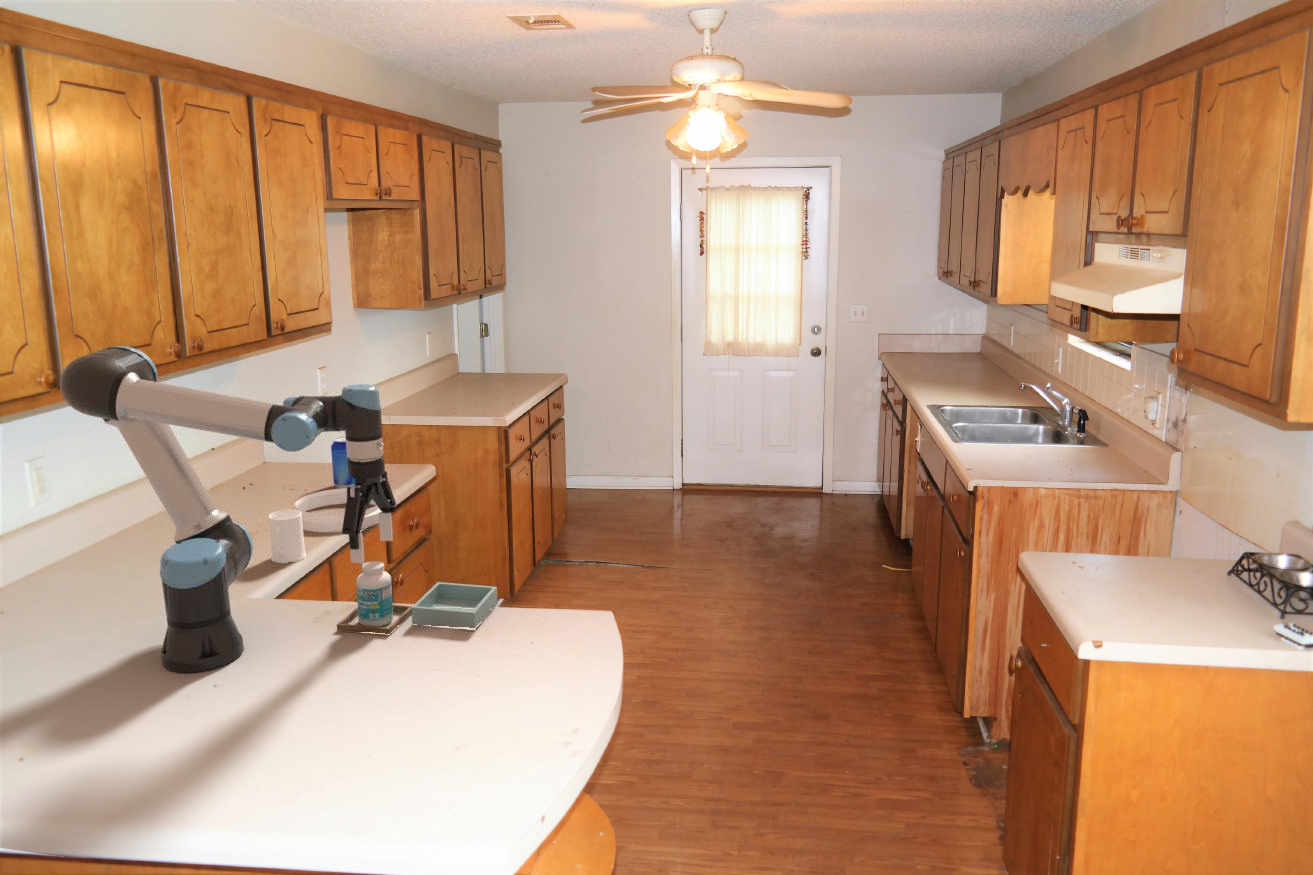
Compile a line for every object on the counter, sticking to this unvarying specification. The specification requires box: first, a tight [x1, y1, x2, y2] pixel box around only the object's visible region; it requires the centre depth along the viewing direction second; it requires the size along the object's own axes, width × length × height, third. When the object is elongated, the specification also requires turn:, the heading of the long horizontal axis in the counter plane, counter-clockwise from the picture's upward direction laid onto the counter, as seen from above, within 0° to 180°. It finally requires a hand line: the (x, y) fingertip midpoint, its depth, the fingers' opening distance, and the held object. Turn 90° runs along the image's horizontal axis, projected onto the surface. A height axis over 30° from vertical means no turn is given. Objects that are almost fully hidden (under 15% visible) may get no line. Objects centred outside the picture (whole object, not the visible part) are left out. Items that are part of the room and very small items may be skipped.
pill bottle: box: [355, 560, 394, 627], centre depth 205 cm, size 8×7×14 cm
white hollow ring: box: [292, 488, 382, 533], centre depth 275 cm, size 27×27×5 cm
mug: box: [268, 509, 307, 564], centre depth 240 cm, size 12×8×12 cm
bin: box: [411, 581, 498, 628], centre depth 210 cm, size 15×15×4 cm
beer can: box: [330, 436, 355, 489], centre depth 305 cm, size 8×8×16 cm
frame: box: [336, 604, 413, 634], centre depth 206 cm, size 12×12×2 cm
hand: (372, 551), depth 203 cm, fingers open, 13 cm apart
